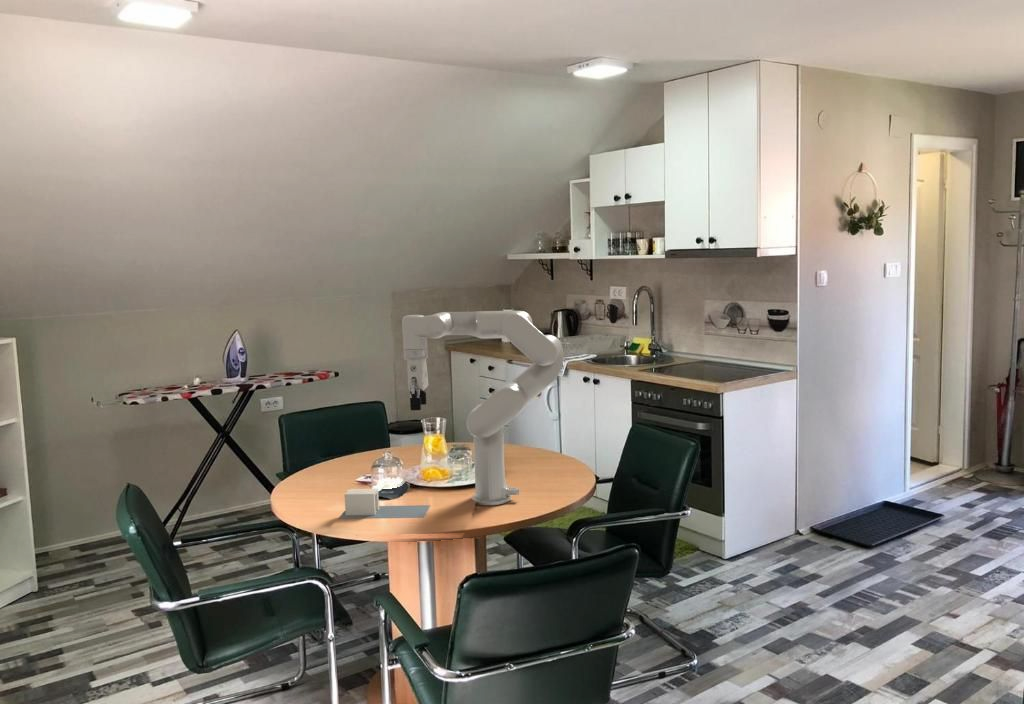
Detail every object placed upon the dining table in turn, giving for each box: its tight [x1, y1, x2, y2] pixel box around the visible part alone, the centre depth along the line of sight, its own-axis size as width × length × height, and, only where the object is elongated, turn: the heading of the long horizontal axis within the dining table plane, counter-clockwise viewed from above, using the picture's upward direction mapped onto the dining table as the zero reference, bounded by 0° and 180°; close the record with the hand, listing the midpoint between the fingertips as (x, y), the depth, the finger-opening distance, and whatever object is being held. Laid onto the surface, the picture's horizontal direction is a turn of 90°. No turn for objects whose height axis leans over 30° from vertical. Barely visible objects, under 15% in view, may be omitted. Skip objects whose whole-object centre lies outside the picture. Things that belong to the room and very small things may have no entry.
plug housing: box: [343, 488, 380, 515], centre depth 256 cm, size 9×6×6 cm, turn 86°
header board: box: [337, 504, 431, 520], centre depth 256 cm, size 26×12×6 cm, turn 86°
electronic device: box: [378, 482, 411, 501], centre depth 276 cm, size 9×6×15 cm
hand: (418, 407), depth 268 cm, fingers open, 9 cm apart
